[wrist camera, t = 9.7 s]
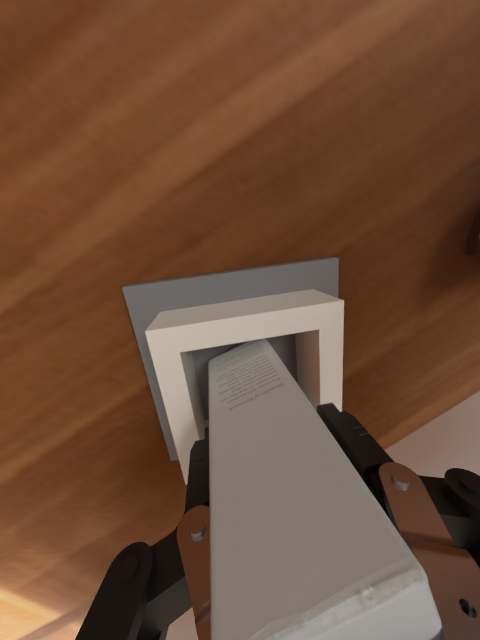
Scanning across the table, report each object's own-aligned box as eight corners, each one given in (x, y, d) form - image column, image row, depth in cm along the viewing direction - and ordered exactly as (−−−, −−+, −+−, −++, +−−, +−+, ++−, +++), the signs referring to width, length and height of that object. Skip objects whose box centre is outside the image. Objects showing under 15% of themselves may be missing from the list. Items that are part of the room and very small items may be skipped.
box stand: (328, 257, 18) (379, 259, 12) (328, 414, 22) (365, 465, 17) (129, 284, 16) (92, 299, 11) (173, 446, 21) (161, 512, 15)
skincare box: (294, 398, 17) (473, 700, 6) (243, 422, 17) (315, 775, 6) (263, 329, 15) (439, 579, 4) (205, 357, 15) (197, 695, 4)
